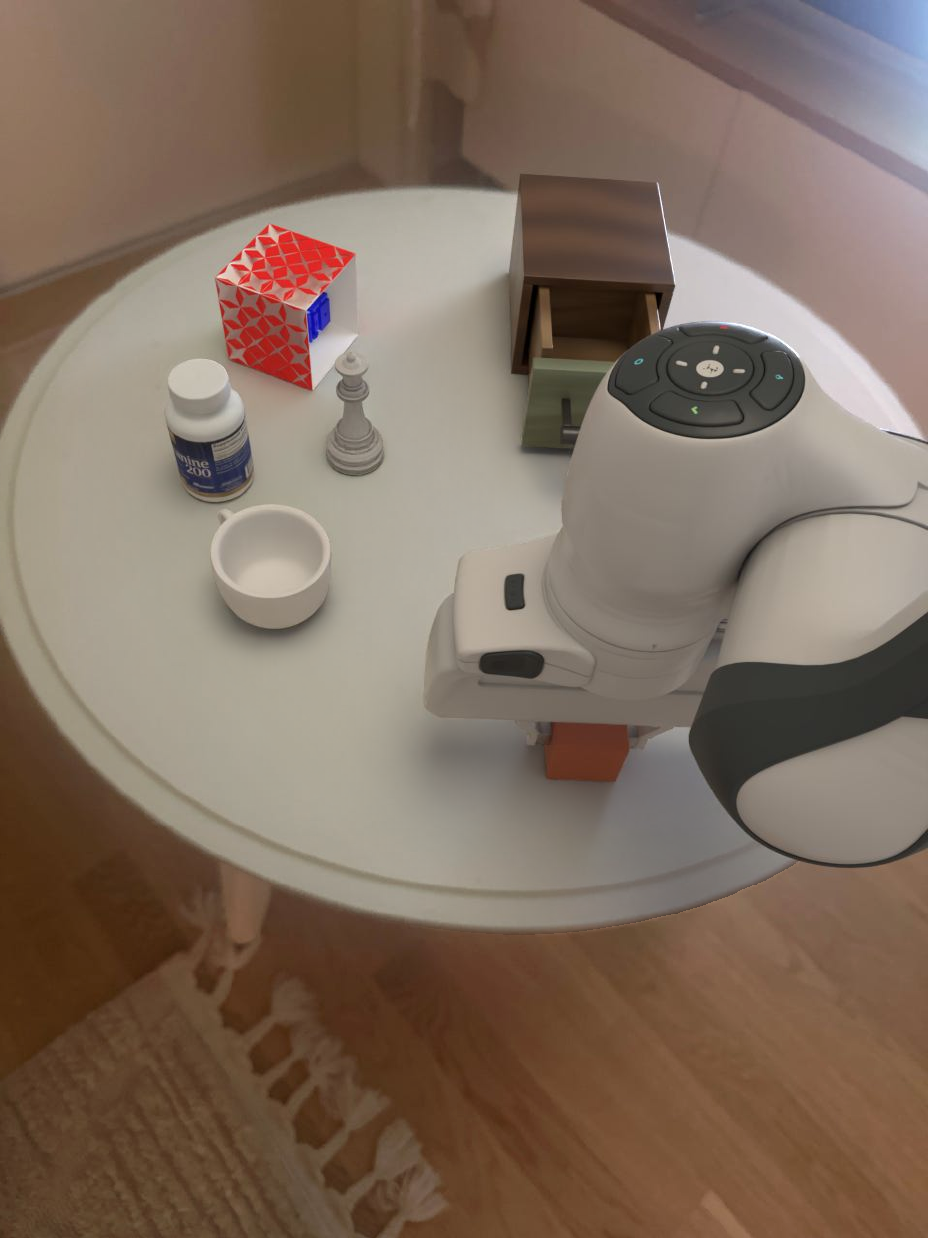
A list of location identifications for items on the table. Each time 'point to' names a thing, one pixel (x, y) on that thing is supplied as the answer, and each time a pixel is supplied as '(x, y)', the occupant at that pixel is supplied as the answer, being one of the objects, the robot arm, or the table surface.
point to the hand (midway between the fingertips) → (582, 736)
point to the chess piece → (353, 422)
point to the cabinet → (585, 244)
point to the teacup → (271, 564)
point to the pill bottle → (208, 431)
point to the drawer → (577, 353)
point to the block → (586, 751)
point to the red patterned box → (289, 305)
